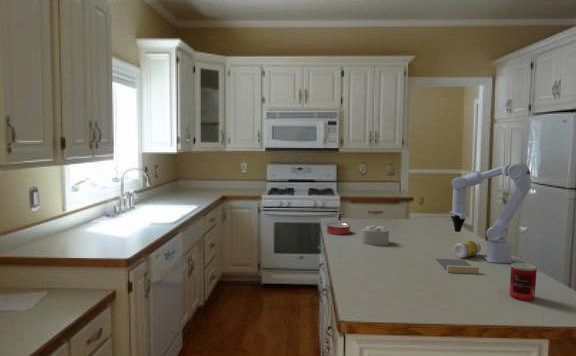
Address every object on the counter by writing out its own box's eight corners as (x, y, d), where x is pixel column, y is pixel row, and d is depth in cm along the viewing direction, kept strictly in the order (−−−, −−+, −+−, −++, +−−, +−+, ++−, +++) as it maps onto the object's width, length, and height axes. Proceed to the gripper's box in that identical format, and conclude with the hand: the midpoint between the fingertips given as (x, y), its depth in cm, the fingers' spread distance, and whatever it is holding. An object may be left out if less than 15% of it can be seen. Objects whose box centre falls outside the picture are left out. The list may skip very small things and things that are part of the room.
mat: (464, 260, 199) (464, 255, 198) (478, 273, 179) (478, 267, 179) (436, 259, 200) (436, 253, 199) (447, 272, 181) (447, 266, 180)
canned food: (526, 293, 157) (528, 262, 156) (539, 301, 150) (542, 269, 149) (504, 293, 157) (506, 262, 156) (517, 301, 149) (519, 268, 148)
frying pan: (325, 223, 279) (325, 213, 278) (346, 224, 278) (346, 214, 278) (327, 234, 247) (327, 223, 247) (351, 235, 247) (351, 224, 246)
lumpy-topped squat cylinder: (389, 245, 224) (390, 228, 223) (363, 245, 225) (363, 228, 224) (385, 241, 235) (386, 224, 234) (360, 240, 235) (361, 224, 234)
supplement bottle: (468, 253, 198) (485, 249, 205) (459, 240, 202) (477, 237, 209) (458, 261, 203) (476, 257, 210) (450, 248, 206) (467, 245, 213)
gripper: (446, 200, 216) (444, 228, 217) (454, 204, 201) (453, 234, 203) (461, 200, 215) (459, 228, 216) (470, 205, 201) (469, 235, 202)
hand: (457, 231), depth 209 cm, fingers closed
